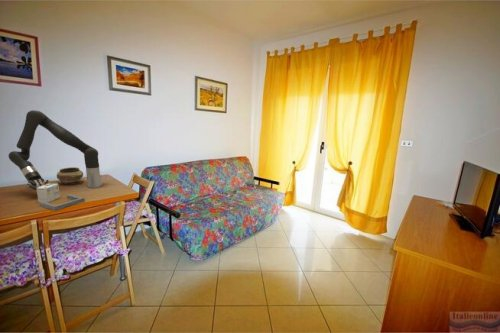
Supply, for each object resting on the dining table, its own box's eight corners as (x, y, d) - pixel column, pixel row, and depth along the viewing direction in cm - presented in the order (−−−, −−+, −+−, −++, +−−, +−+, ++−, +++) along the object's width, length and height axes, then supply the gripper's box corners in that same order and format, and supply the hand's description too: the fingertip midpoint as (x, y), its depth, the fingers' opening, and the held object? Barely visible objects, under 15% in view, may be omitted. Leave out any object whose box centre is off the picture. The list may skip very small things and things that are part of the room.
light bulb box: (50, 197, 158) (48, 183, 156) (60, 197, 158) (58, 183, 156) (37, 202, 147) (35, 187, 145) (48, 202, 148) (46, 188, 146)
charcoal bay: (69, 197, 159) (69, 194, 159) (84, 201, 154) (84, 198, 154) (39, 205, 143) (39, 202, 142) (55, 210, 138) (54, 206, 137)
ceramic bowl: (54, 185, 189) (46, 170, 183) (75, 176, 204) (69, 162, 197) (72, 190, 181) (65, 174, 174) (92, 180, 196) (86, 165, 189)
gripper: (20, 172, 147) (34, 192, 146) (44, 169, 160) (57, 187, 158) (17, 179, 150) (30, 198, 149) (40, 175, 163) (53, 193, 161)
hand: (44, 192), depth 154 cm, fingers closed
